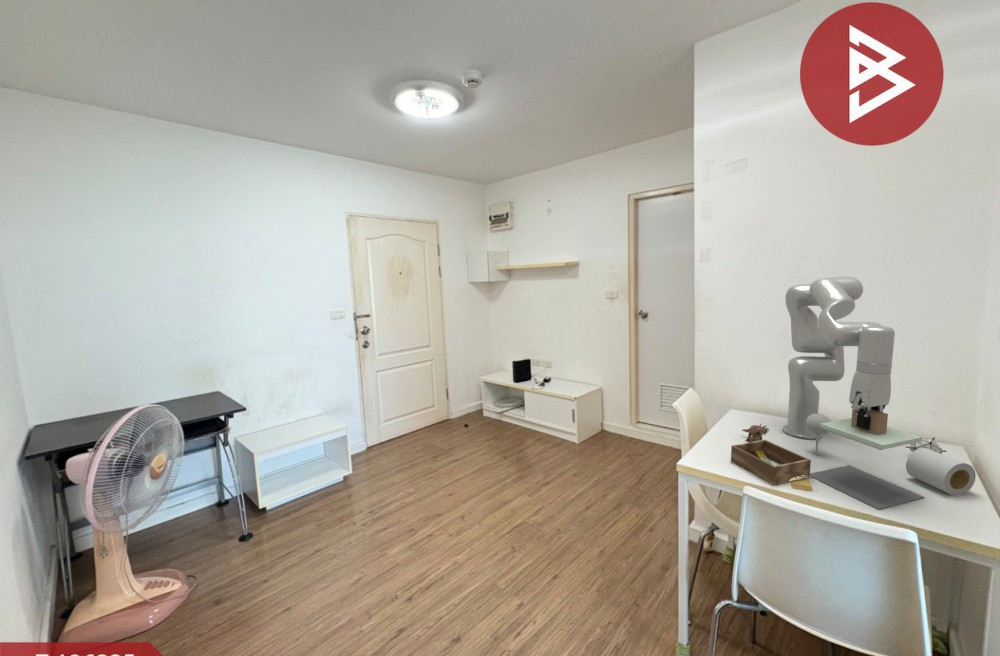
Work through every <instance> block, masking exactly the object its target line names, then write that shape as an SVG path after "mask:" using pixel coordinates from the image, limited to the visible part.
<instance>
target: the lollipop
mask: <svg viewBox="0 0 1000 656" xmlns="http://www.w3.org/2000/svg"><path fill="white" fill-rule="evenodd" d="M826 422H831V419H830V418H829V417H828V416H826V415H825V414H822V413H818V414H812V415H810V416H808V418H807V420H806V425H807V427H808V429H809V430H811V431H812V432H814V433H817V435H816V439H815V452H814V454H815V455H818V453H819V439H820V438H819V434H822V435H823V434H826V433H829V432H828V431H827V429H824V428H821V427H820V423H826Z"/></svg>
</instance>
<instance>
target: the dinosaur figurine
mask: <svg viewBox="0 0 1000 656" xmlns="http://www.w3.org/2000/svg"><path fill="white" fill-rule="evenodd" d="M767 426H768V425H763V426H762V423H760V424H759V425H758V424H757V425H756V424H754V425H751V426H750V427H749V428H747V429H741V431H742V432H745V433H747V435H748V436H747V437H746V439H745V440H744V441H745V442H746V443H749V442H753V440H754V441H760V440H763V436H765V435H767V433H768V432H770V429H769V428H768V427H767Z"/></svg>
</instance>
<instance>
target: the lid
mask: <svg viewBox="0 0 1000 656" xmlns="http://www.w3.org/2000/svg"><path fill="white" fill-rule="evenodd" d="M851 409H852V408H851ZM862 409H864V410H865V409H866V408H863V407H862ZM869 417H871V420H870V430H865V429H862V428H859V427H857V426H856V424H857V414H856V411H855V410H854V409H852V411H851V417H849V418H848V417H847V418H845V419H839V420H832V421H831V420H830V421H831V422H826V423H820V427H821V428H824V429H827V431H828V432H827V433H832V434H834V435H837V436H840V437H842V438H845V439H848V440H852V441H855V442H856V443H860V444H862V445H865V446H868V447H870V448H874V449H876V450H879V451H883V450H886V449H893V448H896V447H897V448H899V447H903V446H907V445H910V444H912V443H916V442H921V440H922V438H923V437H922V436H920V435H919V436H918V435H915V434H912V433H908V432H906V431H903V430H899V429H897V428H896V429H895V428H892V427H888V420H889V419H888V418H889V413H886V412H884V411H883V412H879V411H875V410H872V409H870V414H869Z"/></svg>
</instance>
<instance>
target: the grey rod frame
mask: <svg viewBox="0 0 1000 656" xmlns="http://www.w3.org/2000/svg"><path fill="white" fill-rule="evenodd" d="M935 439H936V438H935V436H934V437H932V438H926V437H922V440H921V442H916V443H912V444H909V446H907V445H905V448H906V449H909V450H910V452H911V453H912V452H914V451H915V450H917V449H920V448H927V449H930V450H932V451H935V452H938V453H940V454H942V453H943V452H944V453H947V452H948V451H947V450H945V449H944V450H943V449H942V448H941V446H940V445H939V444H938V443H937V442H936V441H935Z"/></svg>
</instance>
